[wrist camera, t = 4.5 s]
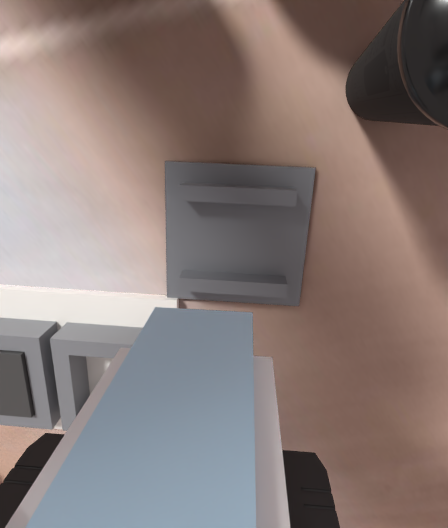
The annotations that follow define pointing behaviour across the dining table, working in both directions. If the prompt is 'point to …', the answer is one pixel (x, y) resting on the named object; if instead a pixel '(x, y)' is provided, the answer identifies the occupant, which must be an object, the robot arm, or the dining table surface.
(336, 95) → the dining table surface
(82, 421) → the robot arm
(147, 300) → the port panel
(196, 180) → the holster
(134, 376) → the plug
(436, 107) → the drinking cup
